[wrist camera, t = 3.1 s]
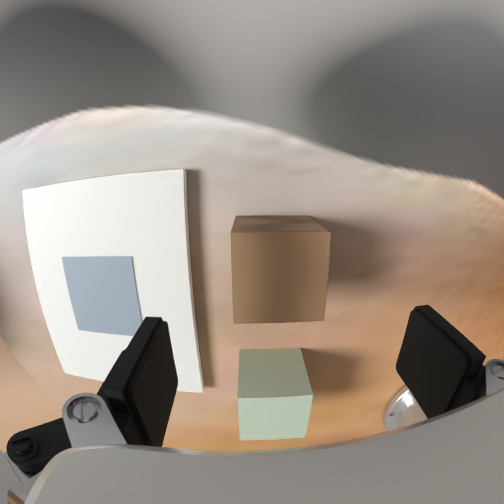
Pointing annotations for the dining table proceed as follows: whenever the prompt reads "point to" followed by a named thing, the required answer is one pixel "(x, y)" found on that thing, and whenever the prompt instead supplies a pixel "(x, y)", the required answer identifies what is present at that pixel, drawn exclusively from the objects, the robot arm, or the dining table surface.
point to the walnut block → (279, 269)
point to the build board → (114, 268)
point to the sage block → (273, 394)
